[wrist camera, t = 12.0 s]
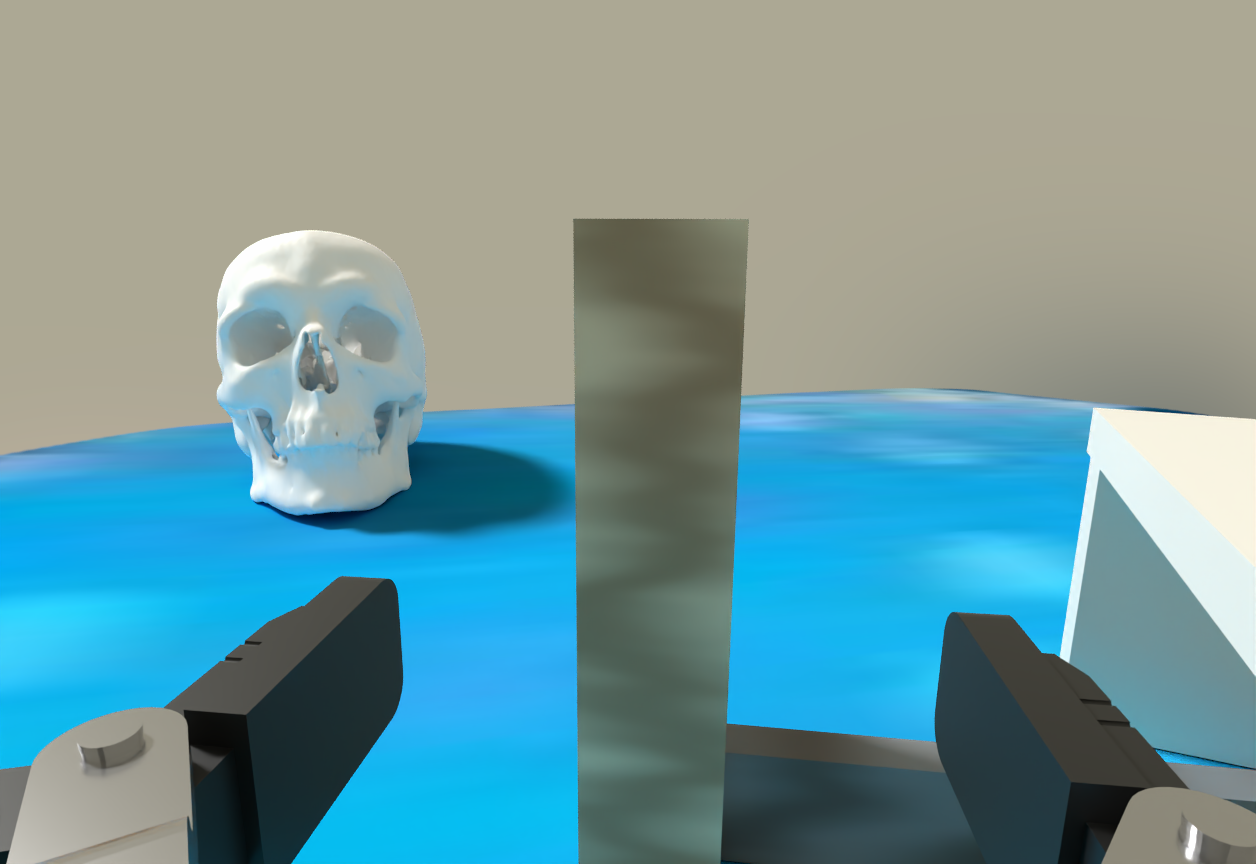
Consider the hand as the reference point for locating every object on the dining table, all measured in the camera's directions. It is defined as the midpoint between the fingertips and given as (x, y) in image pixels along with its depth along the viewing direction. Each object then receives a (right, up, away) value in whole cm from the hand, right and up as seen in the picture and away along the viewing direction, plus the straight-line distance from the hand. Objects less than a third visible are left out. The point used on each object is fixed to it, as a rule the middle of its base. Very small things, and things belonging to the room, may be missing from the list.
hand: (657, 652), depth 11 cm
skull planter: (-21, 0, +43) cm, 48 cm away
